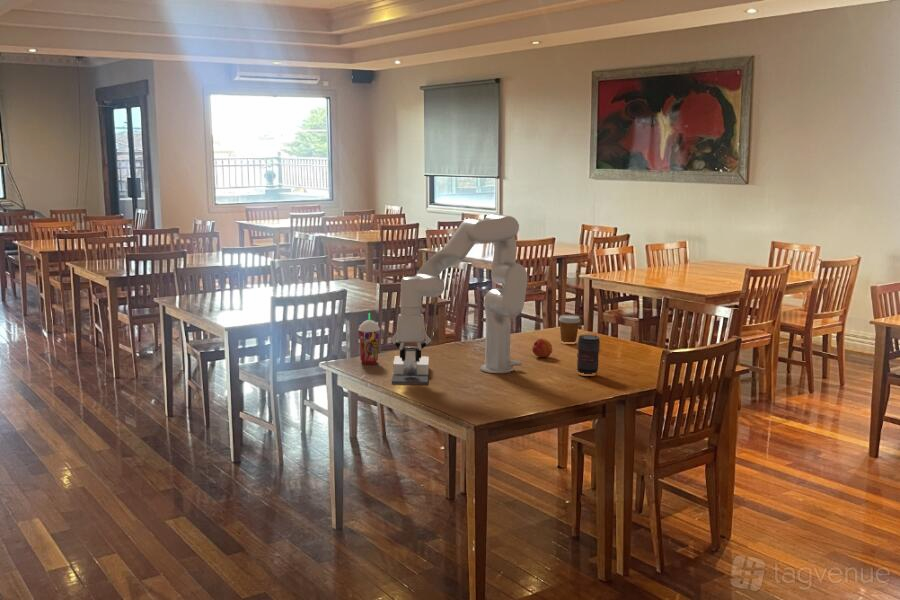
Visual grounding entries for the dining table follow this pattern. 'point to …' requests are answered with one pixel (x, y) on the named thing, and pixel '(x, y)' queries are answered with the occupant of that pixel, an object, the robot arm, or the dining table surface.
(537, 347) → the fruit
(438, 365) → the dining table surface
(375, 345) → the smoothie
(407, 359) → the steel plug
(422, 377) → the rubber pad
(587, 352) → the camera lens
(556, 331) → the dining table surface
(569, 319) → the disposable coffee cup
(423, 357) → the socket block
